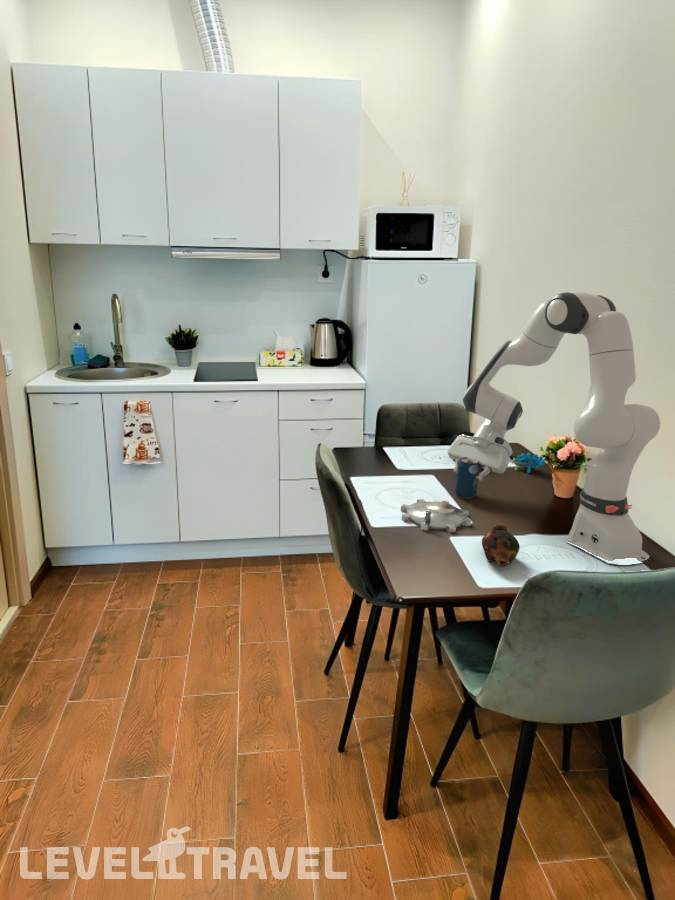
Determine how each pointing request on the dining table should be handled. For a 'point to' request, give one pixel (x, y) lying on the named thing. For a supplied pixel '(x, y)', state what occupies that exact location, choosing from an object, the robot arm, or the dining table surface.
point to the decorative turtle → (500, 545)
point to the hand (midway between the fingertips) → (466, 475)
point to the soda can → (467, 478)
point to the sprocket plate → (435, 515)
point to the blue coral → (528, 461)
